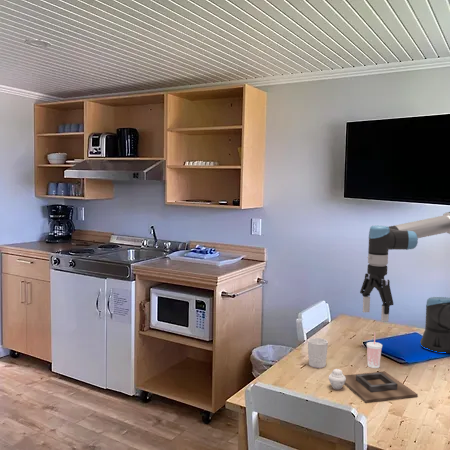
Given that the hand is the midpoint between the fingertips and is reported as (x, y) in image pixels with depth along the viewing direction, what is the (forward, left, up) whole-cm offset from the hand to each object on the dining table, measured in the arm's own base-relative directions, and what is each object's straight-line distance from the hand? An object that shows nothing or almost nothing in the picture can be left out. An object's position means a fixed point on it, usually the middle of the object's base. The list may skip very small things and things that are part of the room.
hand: (375, 316), depth 187 cm
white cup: (+22, -6, -21) cm, 31 cm away
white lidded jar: (+24, +15, -21) cm, 35 cm away
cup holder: (+10, +18, -20) cm, 29 cm away
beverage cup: (0, 0, -21) cm, 21 cm away
